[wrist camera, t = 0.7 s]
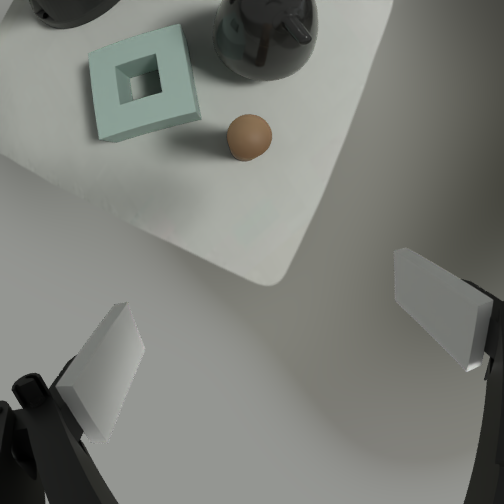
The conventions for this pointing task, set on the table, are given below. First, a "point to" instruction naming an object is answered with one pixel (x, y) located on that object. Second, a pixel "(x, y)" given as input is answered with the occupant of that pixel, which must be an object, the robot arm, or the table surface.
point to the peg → (248, 137)
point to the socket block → (136, 63)
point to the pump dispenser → (265, 36)
